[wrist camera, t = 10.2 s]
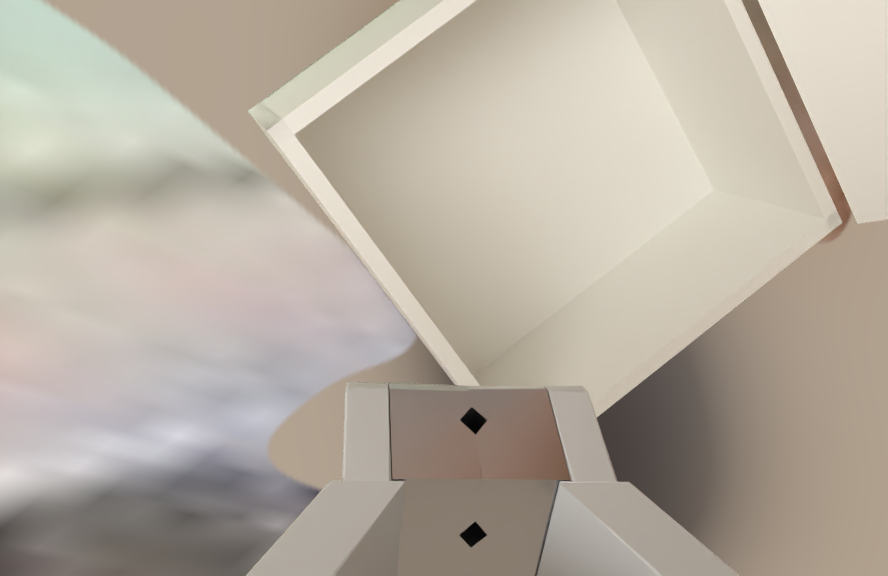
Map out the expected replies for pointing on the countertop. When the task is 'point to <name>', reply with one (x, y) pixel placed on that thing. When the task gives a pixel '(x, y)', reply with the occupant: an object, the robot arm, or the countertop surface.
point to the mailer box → (556, 178)
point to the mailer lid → (842, 88)
